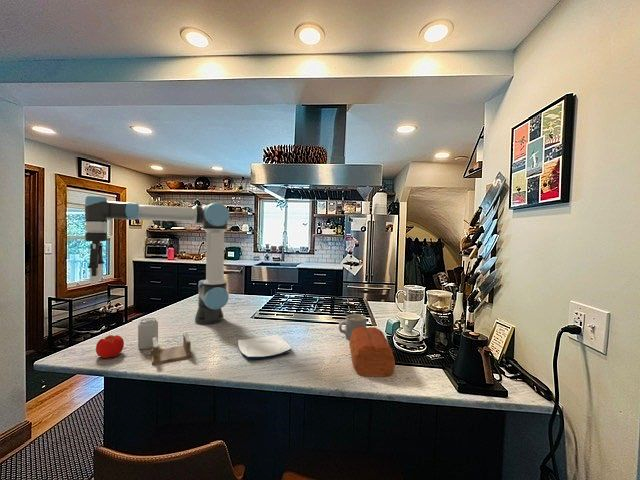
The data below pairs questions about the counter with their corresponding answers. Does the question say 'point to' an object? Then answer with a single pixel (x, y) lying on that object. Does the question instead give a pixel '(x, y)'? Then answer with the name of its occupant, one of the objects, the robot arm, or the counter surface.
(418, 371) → the counter surface
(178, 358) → the cradle holder
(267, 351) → the plate
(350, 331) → the coffee mug
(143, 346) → the can
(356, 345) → the bread
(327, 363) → the counter surface
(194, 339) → the counter surface
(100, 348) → the tomato
